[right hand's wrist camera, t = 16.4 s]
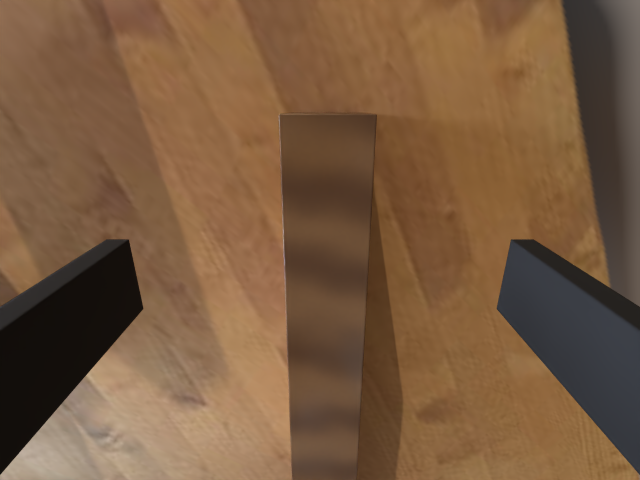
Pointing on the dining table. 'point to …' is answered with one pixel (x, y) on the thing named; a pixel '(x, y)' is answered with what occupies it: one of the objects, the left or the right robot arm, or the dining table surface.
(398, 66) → the dining table surface
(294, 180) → the post
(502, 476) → the dining table surface
